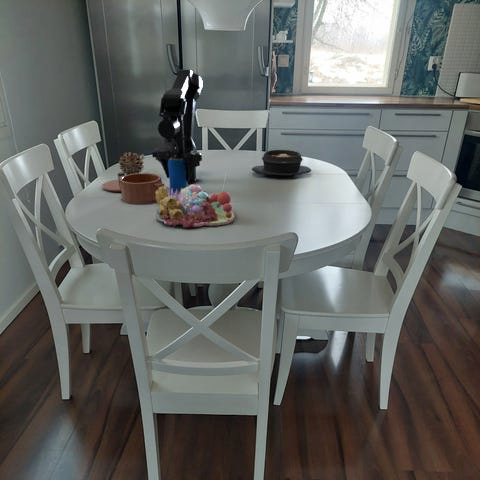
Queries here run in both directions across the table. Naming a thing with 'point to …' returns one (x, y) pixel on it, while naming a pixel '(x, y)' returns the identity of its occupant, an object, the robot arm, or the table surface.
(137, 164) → the pine cone
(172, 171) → the beverage can
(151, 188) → the pot
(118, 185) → the pot lid
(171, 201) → the candy landscape model
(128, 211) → the table surface
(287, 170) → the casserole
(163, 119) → the robot arm
